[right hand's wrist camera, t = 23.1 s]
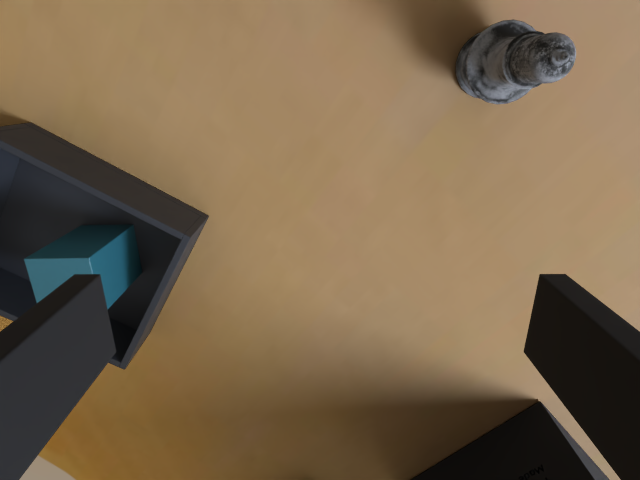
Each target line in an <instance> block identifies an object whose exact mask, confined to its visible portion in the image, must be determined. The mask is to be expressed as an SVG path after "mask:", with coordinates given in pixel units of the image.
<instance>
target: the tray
mask: <svg viewBox="0 0 640 480" xmlns="http://www.w3.org/2000/svg"><path fill="white" fill-rule="evenodd" d="M208 217H209V216H208V215H206V214H204V213H202V212H201V211H199V210H197V209H195V208H193V207H191V206H189V205H187V204H185V203H183V202H182V201H180V200H178V199H176V198H174V197H172V196H170V195H168V194H166V193H164V192H163V191H161V190H159V189H157V188H155V187H153V186H151V185H149V184H147V183H145V182H143V181H142V180H140V179H138V178H136V177H134V176H132V175H130V174H128V173H126V172H124V171H123V170H121V169H119V168H117V167H115V166H113V165H111V164H109V163H107V162H105V161H104V160H102V159H100V158H98V157H96V156H94V155H92V154H90V153H88V152H86V151H85V150H83V149H81V148H79V147H77V146H75V145H73V144H71V143H69V142H67V141H65V140H64V139H62V138H60V137H58V136H56V135H54V134H52V133H50V132H48V131H46V130H45V129H43V128H41V127H39V126H37V125H35V124H33V123H24V124H16V125H8V126H1V127H0V316H3V317H5V318H7V319H10V320H12V321H15V320H16V319H17V318H19V317H20V316H21V315H23V314H24V313H25V312H27V311H28V310H29V309H30V308H32V307H33V306H34V305H36V304H37V302H36V299H35V296H34V292H33V289H32V285H31V282H30V279H29V275H28V272H27V268H26V265H25V261H24V259H25V258H26V257H28V256H30V255H31V254H33V253H35V252H37V251H38V250H40V249H42V248H43V247H45V246H47V245H48V244H50V243H52V242H53V241H55V240H57V239H59V238H60V237H62V236H64V235H65V234H67V233H69V232H70V231H72V230H74V229H76V228H77V227H79V226H81V225H134V230H135V235H136V241H137V246H138V251H139V257H140V262H141V268H142V274H141V275H140V276H139V277H138V278H137V279H136V280H135V281H134V282H133V283H132V284H131V285H130V286H129V287H128V288H127V290H126V291H125V292H124V293H123V294H122V295H121V296H120V297H119V298H118V299H117V300H116V301H115V302H114V303H113V304H112V305H111V306H110V308H109V309H108V314H109V319H110V324H111V329H112V333H113V338H114V343H115V348H116V353H115V354H114V355H113V357H112V358H111V359H110V361H109V362H108V363H110V364H113V365H115V366H117V367H119V368H122V369H124V370H125V369H126V367H127V366H128V364H129V363H130V361H131V360H132V358H133V357H134V355H135V354H136V353H137V351H138V350H139V348H140V347H141V345H142V344H143V342H144V341H145V339H146V338H147V336H148V335H149V334H150V332H151V330H152V328H153V326H154V324H155V322H156V320H157V318H158V316H159V314H160V312H161V310H162V308H163V306H164V304H165V302H166V300H167V298H168V296H169V294H170V292H171V290H172V288H173V286H174V284H175V282H176V280H177V278H178V276H179V274H180V272H181V270H182V268H183V266H184V264H185V262H186V260H187V258H188V257H189V255H190V253H191V251H192V249H193V247H194V245H195V243H196V241H197V239H198V237H199V235H200V233H201V231H202V229H203V227H204V225H205V223H206V221H207V219H208Z"/></svg>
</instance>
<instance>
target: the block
mask: <svg viewBox="0 0 640 480" xmlns="http://www.w3.org/2000/svg"><path fill="white" fill-rule="evenodd" d="M24 261H25V265H26V268H27V272H28V275H29V279H30V282H31V285H32V289H33V292H34V296H35V299H36V302H37V303H38V302H39V301H41V300H42V299H43V298H45V297H46V296H47V295H48V294H50V293H51V292H52V291H54V290H55V289H56V288H57V287H59V286H60V285H61V284H63V283H64V282H65V281H66V280H68V279H69V278H70V277H72V276H73V275H74V274H100V275H101V280H102V285H103V290H104V295H105V300H106V304H107V309H109V308H110V306H111V305H112V304H113V303H114V302H115V301H116V300H117V299H118V298H119V297H120V296H121V295H122V294H123V293H124V292H125V291H126V290H127V288H128V287H129V286H130V285H131V284H132V283H133V282H134V281H135V280H136V279H137V278H138V277H139V276H140V275H141V274H142V268H141V262H140V257H139V251H138V246H137V241H136V235H135V230H134V225H81V226H79V227H77V228H76V229H74V230H72V231H70V232H69V233H67V234H65V235H64V236H62V237H60V238H59V239H57V240H55V241H53V242H52V243H50V244H48V245H47V246H45V247H43V248H42V249H40V250H38V251H37V252H35V253H33V254H31V255H30V256H28V257H26V258H25V259H24Z"/></svg>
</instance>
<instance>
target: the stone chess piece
mask: <svg viewBox="0 0 640 480" xmlns="http://www.w3.org/2000/svg"><path fill="white" fill-rule="evenodd" d="M575 58H576V50H575V46H574V43H573V41H572V40H571V39H570V38H569V37H568V36H566V35H564V34H561V33H547V34H544V33H542V32H538V31H535V29H534V28H533V27H532V26H530V25H528V24H526V23H525V22H522V21H517V20H505V21H501V22H498V23H495V24H493V25H491V26H490V27H488V28H487V29H485V30H484V31H483V32H481V33H478V34H476V35H475V36H473V37H472V38H470V39H469V40H468V41H467V42H466V44H465V45H464V46H463V47H462V49H461V51H460V53H459V55H458V58H457V62H456V76H457V80H458V82H459V84H460V86H461V88H462V89H463V90H464V91H465V92H466V93H467V94H469V95H471V96H473V97H476V98H480V99H482V100H484V101H486V102H488V103H493V104H506V103H510V102H513V101H515V100H518V99H519V98H521V97H522V96H524V95H525V94H527V93H528V92H529V91H530V90H531V89H532V88H534V87H537V86H539V85H540V84H542V83H552V82H555V81H558V80H560V79H562V78H563V77H565V76H566V75H567V74H568V73H569V72H570V70H571V68H572V67H573V65H574V62H575Z"/></svg>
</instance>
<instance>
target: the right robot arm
mask: <svg viewBox="0 0 640 480" xmlns="http://www.w3.org/2000/svg"><path fill="white" fill-rule="evenodd" d="M115 353H116V348H115V343H114V338H113V333H112V329H111V324H110V319H109V314H108V309H107V304H106V300H105V295H104V290H103V285H102V280H101V275H100V274H74V275H73V276H72V277H70V278H69V279H68V280H66V281H65V282H64V283H63V284H61V285H60V286H59V287H57V288H56V289H55V290H54V291H52V292H51V293H50V294H48V295H47V296H46V297H45V298H43V299H42V300H41V301H39V302H38V303H37V304H36V305H34V306H33V307H32V308H30V309H29V310H28V311H27V312H25V313H24V314H23V315H21V316H20V317H19V318H17V319H16V320H15V321H14V322H12V323H11V324H10V325H8V326H7V327H6V328H5V329H3V330H2V331H1V332H0V480H19V479H20V478H21V476H22V475H23V474H24V473H25V471H26V470H27V469H28V467H29V466H30V465H31V463H32V462H33V461H34V459H35V458H36V457H37V455H38V454H39V453H40V451H41V450H42V449H43V448H44V446H45V445H46V444H47V442H48V441H49V440H50V438H51V437H52V436H53V434H54V433H55V432H56V430H57V429H58V428H59V426H60V425H61V424H62V423H63V421H64V420H65V419H66V417H67V416H68V415H69V413H70V412H71V411H72V409H73V408H74V407H75V405H76V404H77V403H78V401H79V400H80V399H81V398H82V396H83V395H84V394H85V392H86V391H87V390H88V388H89V387H90V386H91V384H92V383H93V382H94V380H95V379H96V378H97V376H98V375H99V374H100V373H101V371H102V370H103V369H104V367H105V366H106V365H107V363H108V362H109V361H110V359H111V358H112V357H113V355H114V354H115ZM524 353H525V354H526V355H527V357H528V358H529V359H530V361H531V362H532V363H533V365H534V366H535V367H536V369H537V370H538V371H539V373H540V374H541V375H542V376H543V378H544V379H545V380H546V382H547V383H548V384H549V386H550V387H551V388H552V390H553V391H554V392H555V394H556V395H557V396H558V398H559V399H560V400H561V401H562V403H563V404H564V405H565V407H566V408H567V409H568V411H569V412H570V413H571V415H572V416H573V417H574V419H575V420H576V421H577V423H578V424H579V425H580V426H581V428H582V429H583V430H584V432H585V433H586V434H587V436H588V437H589V438H590V440H591V441H592V442H593V444H594V445H595V446H596V448H597V449H598V450H599V451H600V453H601V454H602V455H603V457H604V458H605V459H606V461H607V462H608V463H609V465H610V466H611V467H612V469H613V470H614V471H615V473H616V474H617V475H618V476H619V478H620V479H621V480H640V332H639V331H638V330H637V329H635V328H634V327H633V326H632V325H630V324H629V323H628V322H626V321H625V320H624V319H623V318H621V317H620V316H619V315H617V314H616V313H615V312H613V311H612V310H611V309H610V308H608V307H607V306H606V305H604V304H603V303H602V302H601V301H599V300H598V299H597V298H595V297H594V296H593V295H592V294H590V293H589V292H588V291H586V290H585V289H584V288H583V287H581V286H580V285H579V284H577V283H576V282H575V281H574V280H572V279H571V278H570V277H568V276H567V275H566V274H540V275H539V280H538V285H537V290H536V295H535V300H534V304H533V309H532V314H531V319H530V324H529V329H528V333H527V338H526V343H525V348H524Z"/></svg>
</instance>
